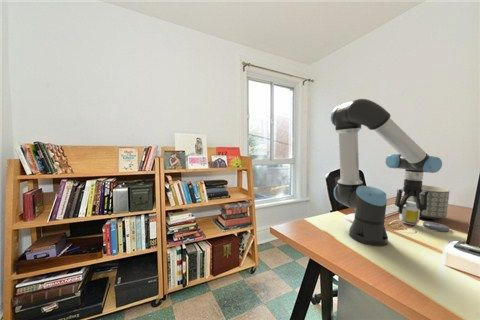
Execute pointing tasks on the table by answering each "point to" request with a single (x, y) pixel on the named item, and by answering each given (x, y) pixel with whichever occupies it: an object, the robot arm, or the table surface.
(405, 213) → the pill bottle
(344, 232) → the table surface
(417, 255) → the table surface
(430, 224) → the coaster
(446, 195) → the planter
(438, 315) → the table surface
